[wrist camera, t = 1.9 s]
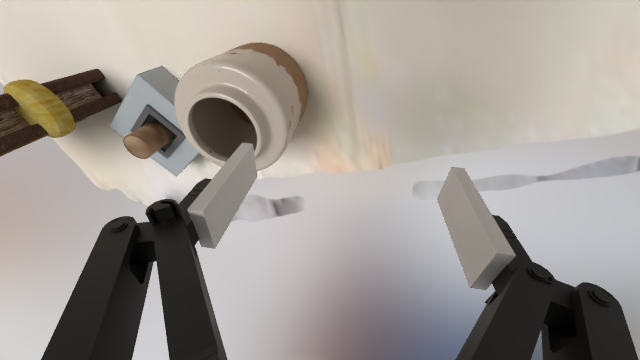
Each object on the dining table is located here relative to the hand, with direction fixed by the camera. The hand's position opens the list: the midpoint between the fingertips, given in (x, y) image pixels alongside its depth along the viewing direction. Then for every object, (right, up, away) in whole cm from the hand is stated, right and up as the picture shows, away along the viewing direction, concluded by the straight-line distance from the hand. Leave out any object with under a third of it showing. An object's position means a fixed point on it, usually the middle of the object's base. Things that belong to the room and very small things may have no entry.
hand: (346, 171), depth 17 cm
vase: (-11, +15, +27) cm, 33 cm away
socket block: (-30, +12, +32) cm, 46 cm away
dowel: (-31, +9, +28) cm, 43 cm away
